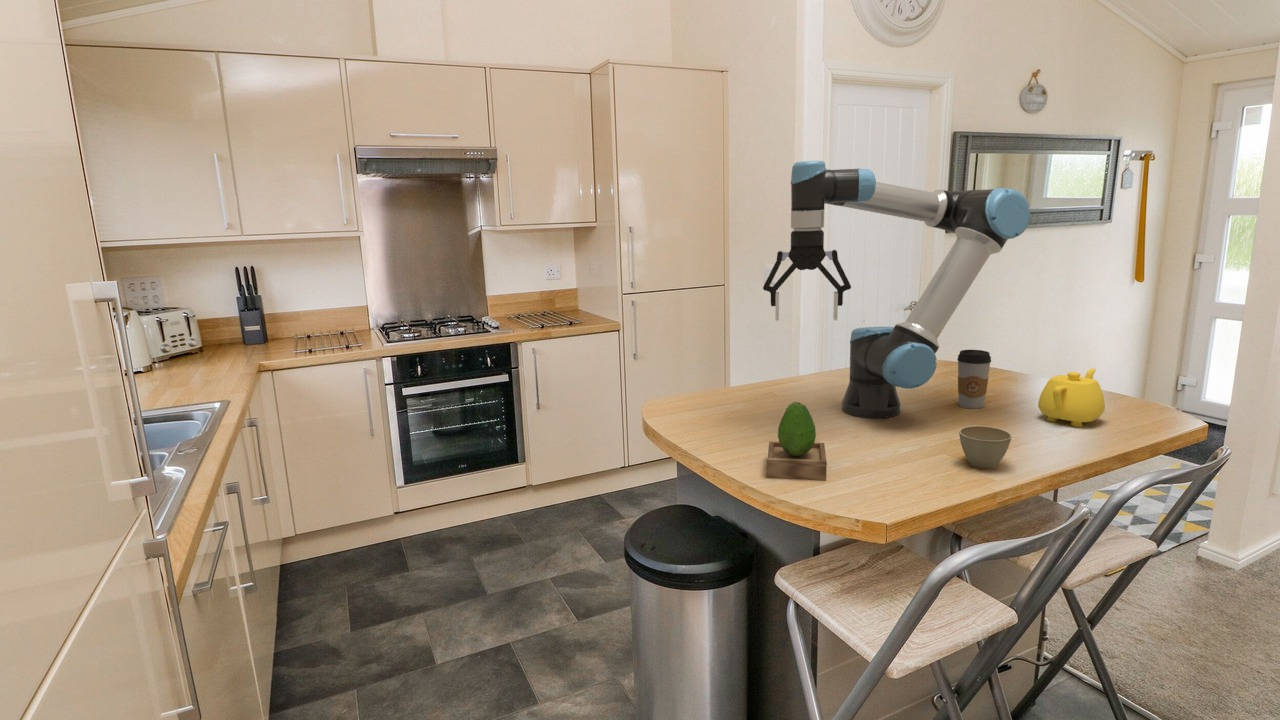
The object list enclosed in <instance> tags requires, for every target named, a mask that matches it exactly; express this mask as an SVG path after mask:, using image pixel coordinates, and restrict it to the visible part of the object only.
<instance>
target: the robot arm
mask: <svg viewBox="0 0 1280 720" xmlns="http://www.w3.org/2000/svg"><path fill="white" fill-rule="evenodd" d="M790 179H791V180H790V187H791V188H790V195H791V196H790V199H791V203H790V204H791V209H790V210H791V211H790V228H791V229H793V230H792V231H791V232H790V250H789V252H788V251H782V250H778V251H777V253H776V254H777V255H776V260H775V263H774V265H773V267H772V269H771V270H770V272H769V275H768V276H767V279H766V280H765V282H764V285H763V287H762V290H764V291H766V292H769V293H770V306H771V307H775V308H774V309H775V312H774V313H775V316H774V317H775V321H779V320H780V319H779V318H780V292H779V291H778V289H780V287H782V286H783V284H784V283H785V282H786V281H787V279H788V278H789V277H790V276H791V274H792V273H793V272H795V270H796V269H798V271H799V270H800V271H804V270H805V271H806V270H810V271H814V270H816V269H818V270H819V271H820V272H821V274H823V276H824V277H825V278H826V279H827V280H828V281H829V282H830V284H831V285H832V286H833V287H834V288H835V290H837V291H833V315H832V316H833V318H832V319H833V321H838V312H839V311H838V308H839V307H841V306H843V304H844V303H843V302H844V292H846V291H848V290H850V289H851V288H852V285H851V282H850V281H849V279H848V277H847V275H846V273H845V271H844V269H843V267H842V265H841V263H840V261H839V256H838V251H837V250H836V249H832V250H827V251H825V249H824V243H825V242H824V241H825V239H824V238H825V235H824V234H825V231H824V230H823V228H824V227H825V204H826V205H832V206H837V207H842V208H843V207H844V208H849V209H854V210H860V211H865V212H869V213H870V212H872V213H877V214H882V215H886V216H893V217H897V218H898V217H899V218H903V219H908V220H909V219H910V220H913V221H919V222H924V224H925V225H926V226H927V227H928V228H929V227H930V228H934V229H940V230H943V231H947V232H950V233H953V234H955V236H956V240H955V241H954V243H953V245H952V247H950V249H949V251H948V253H947V254H946V256H945V258H944V259H943V261H942V262H941V264H940V266H939V267H938V269H937V270H936V272H935V274H934V275H933V277H932V278H931V279H930V281H929V283H928V285H927V286H926V288H925V289H924V291H923V292H922V294H921V295H920V297H919V299H918V301H916V304H915V305H914V307H913V308H912V309H911V312H910V313H909V315H908V316H907V318H906V320H905V321H903V322H899V323H896V324H895V325H894V326H873V327H872V326H869V327H868V326H867V327H858V328H854V329H852V331H851V334H850V340H849V383H848V385H847V387H846V390H845V393H844V396H843V399H842V403H841V409H842V411H843V412H844V413H846V414H848V415H851V416H854V417H860V418H868V419H882V418H883V419H885V418H890V417H891V418H892V417H895V416H897V415H900V413H901V400H900V397H899V396H898V395H899V394H898V391H897V388H902V389H909V390H910V389H915V388H919V387H921V386H923V385H925V384H926V383H928V382H929V380H931V378H932V377H933V376H934V375H935V372H936V369H937V366H938V365H937V356H936V354H937V352H938V350H939V349H940V345H939V342H938V338H939V336H940V335H941V333H942V332H943V330H944V329H945V327H946V325H947V324H948V322H949V321H950V319H951V318H952V315H953V314H954V313H955V311H956V309H957V308H958V307H959V305H960V303H961V301H962V300H963V299H964V297H965V296H966V293H967V292H968V290H969V289H970V288H971V286H972V284H973V283H974V281H975V279H976V278H977V277H978V275H979V274H980V272H981V270H982V269H983V267H984V265H985V264H986V262H987V261H988V259H989V258H990V257H991V256H992V255H994V254H997V253H998V254H999V253H1000V252H1001V251H1002V249H1003V248H1004V246H1005V244H1006V243H1007V242H1008V240H1011V239H1015V238H1016V237H1019V236H1021V235H1022V234H1023V233H1024V232H1026V229H1027V228H1028V226H1029V223H1030V220H1031V209H1030V203H1029V201H1028V199H1027V197H1026V196H1025V195H1024V194H1023V193H1022V192H1020V191H1019V190H1016V189H1012V188H1006V187H997V188H991V189H989V188H988V189H970V190H969V189H968V190H954V191H953V190H945V189H936V190H934V191H928V190H921V189H916V188H913V187H911V188H910V187H908V186H907V187H906V186H901V185H896V184H891V183H885V182H880V181H877V179H876V176H875V174H874V172H873V171H872V170H871V169H869V168H859V167H858V168H845V169H844V168H843V169H841V168H840V169H827V168H826V162H825V161H824V160H806V161H805V160H804V161H797V162H794V163H793V165H792V167H791V176H790ZM826 257H828V258H827V259H829V260H830V261H832V263H833V265H834V267H835V269H836V271H837V274H838V275H839V277H840V279H841V281H842V283H843V284H842V285H841V284H840V283H839V282H838V281H837V280H836V279H835V277H834V276H833V275H832V274H831V273H830V272H829V270H828V269H827V268H826V267H825V266H824V264H823V263H822V262H823V260H824V259H825V258H826ZM787 258H789V260H790V261H791V265H790V266H789V267H788V268H787V270H786V271H784V273H783V274H782V275H781V276H780V277H779V278H778V280H777V281H776V282H775V283H774V285H773V286H771V284H772V282H773V280H774V278H775V276H776V274H777V272H778V270H779V268H780V266H781V264H782V262H783V261H784V262H785V261H786V259H787ZM838 306H839V307H838ZM896 387H897V388H896Z"/></svg>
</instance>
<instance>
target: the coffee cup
mask: <svg viewBox="0 0 1280 720" xmlns="http://www.w3.org/2000/svg"><path fill="white" fill-rule="evenodd" d="M956 361H957V392H958V395H957V398H958V405H959V407H962V408H965V409H971V410H977V409H978V410H979V409H981V408H983V407H984V406H985V403H986V402H985V400H986V395H987V388H988V383H989V372H990V366H991V363H992V357H991V354H990V352H989V351H986V350H982V349H962V350H960V351H959V354H958V355H957V360H956Z"/></svg>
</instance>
